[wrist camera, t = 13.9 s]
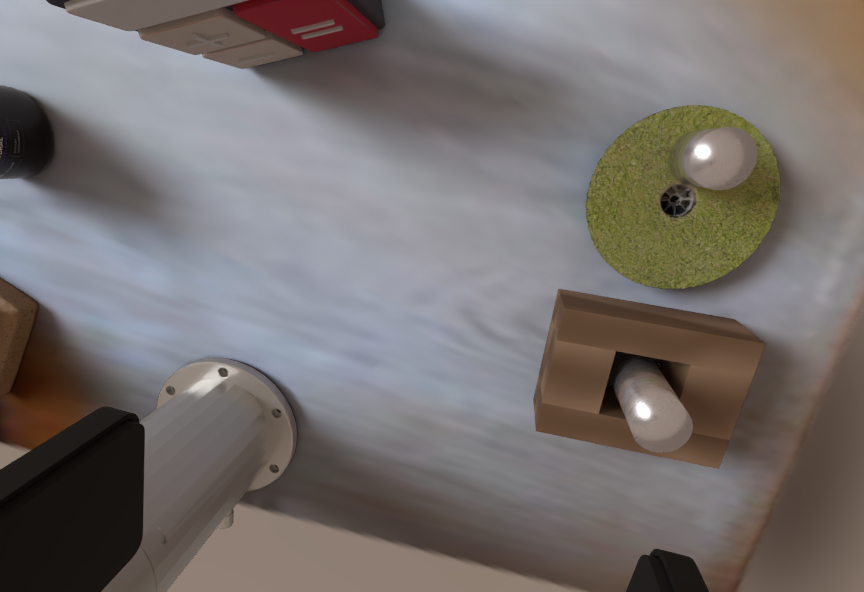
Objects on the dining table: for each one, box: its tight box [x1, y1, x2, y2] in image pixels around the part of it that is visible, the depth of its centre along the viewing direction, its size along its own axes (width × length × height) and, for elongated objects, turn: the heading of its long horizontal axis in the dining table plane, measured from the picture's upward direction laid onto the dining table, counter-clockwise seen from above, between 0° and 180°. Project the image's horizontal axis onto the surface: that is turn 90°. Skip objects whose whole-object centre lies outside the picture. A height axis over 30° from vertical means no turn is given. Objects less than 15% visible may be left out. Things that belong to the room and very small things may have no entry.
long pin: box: [609, 351, 693, 453], centre depth 31 cm, size 3×3×9 cm
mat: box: [586, 105, 780, 289], centre depth 31 cm, size 11×11×2 cm
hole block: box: [534, 289, 765, 469], centre depth 34 cm, size 9×12×4 cm
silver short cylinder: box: [668, 127, 757, 190], centre depth 28 cm, size 3×3×4 cm
